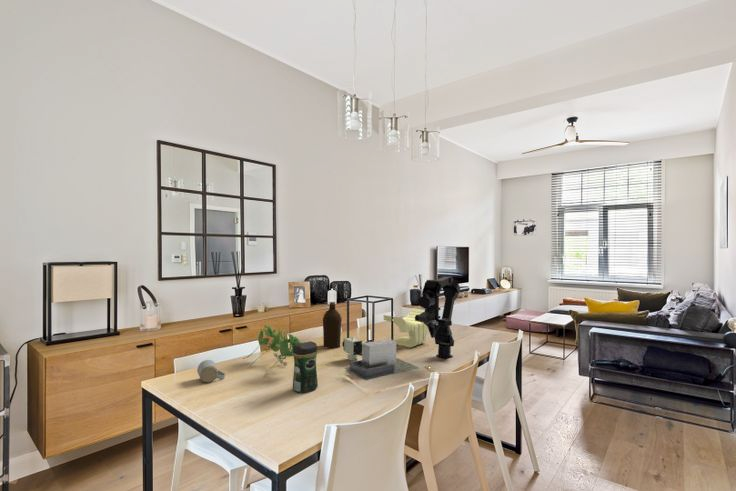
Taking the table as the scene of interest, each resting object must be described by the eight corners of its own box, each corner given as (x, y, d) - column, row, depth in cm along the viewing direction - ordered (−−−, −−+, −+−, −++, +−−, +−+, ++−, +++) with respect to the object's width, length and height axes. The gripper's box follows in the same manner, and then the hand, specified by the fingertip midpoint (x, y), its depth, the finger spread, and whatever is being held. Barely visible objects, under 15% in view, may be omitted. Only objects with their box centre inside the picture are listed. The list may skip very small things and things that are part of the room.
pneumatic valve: (355, 365, 176) (356, 340, 176) (341, 359, 185) (342, 335, 185) (364, 363, 180) (365, 338, 180) (350, 357, 189) (350, 334, 189)
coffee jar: (309, 383, 153) (309, 338, 153) (320, 388, 148) (321, 342, 148) (288, 389, 146) (289, 342, 146) (300, 395, 141) (300, 346, 141)
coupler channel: (395, 359, 186) (396, 351, 186) (419, 369, 171) (419, 361, 171) (344, 370, 170) (344, 361, 170) (365, 382, 155) (365, 373, 155)
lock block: (389, 363, 176) (389, 338, 176) (396, 367, 171) (397, 341, 171) (361, 369, 168) (362, 343, 168) (369, 373, 163) (369, 346, 163)
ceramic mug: (199, 385, 150) (200, 366, 150) (196, 378, 157) (197, 360, 157) (227, 380, 156) (227, 362, 156) (223, 374, 163) (223, 357, 163)
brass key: (424, 368, 173) (424, 366, 173) (430, 368, 173) (430, 366, 173) (429, 374, 165) (429, 371, 165) (436, 374, 166) (436, 371, 166)
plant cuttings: (284, 396, 156) (320, 357, 167) (261, 369, 149) (300, 330, 161) (250, 374, 183) (283, 341, 194) (230, 350, 176) (265, 317, 187)
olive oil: (342, 348, 205) (342, 303, 205) (322, 349, 204) (323, 304, 204) (340, 343, 216) (340, 300, 216) (322, 344, 214) (322, 301, 214)
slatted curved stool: (406, 351, 201) (406, 318, 201) (383, 346, 211) (383, 315, 211) (434, 341, 224) (434, 311, 224) (412, 336, 234) (412, 308, 234)
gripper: (407, 304, 181) (407, 336, 181) (437, 310, 167) (437, 344, 167) (422, 302, 189) (422, 333, 189) (452, 307, 175) (452, 340, 174)
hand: (432, 337), depth 179 cm, fingers closed
